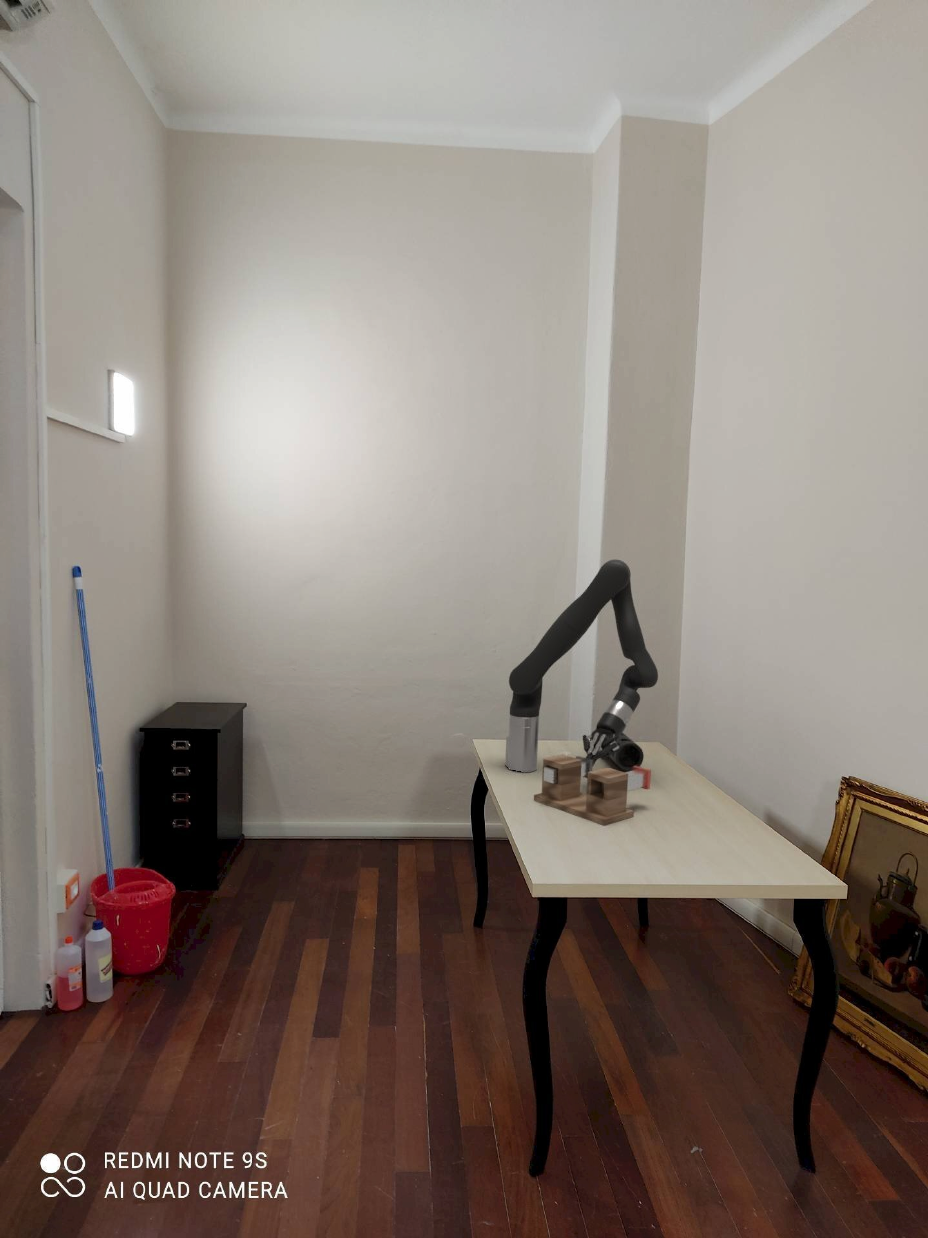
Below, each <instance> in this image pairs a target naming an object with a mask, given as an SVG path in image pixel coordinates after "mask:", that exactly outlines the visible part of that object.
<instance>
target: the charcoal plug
mask: <svg viewBox="0 0 928 1238" xmlns="http://www.w3.org/2000/svg"><path fill="white" fill-rule="evenodd" d="M575 758H577V759H580V760H582V764H581V778H586V779H587V777H588V772H590V771H593V767H592V764H593V760H591V759H587V758H586V757H583V756H580V755H577V756H575ZM544 781H547V782H550V783H557V782H558V768H555V767H551V766H549V767H544Z"/></svg>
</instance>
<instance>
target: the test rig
mask: <svg viewBox="0 0 928 1238" xmlns="http://www.w3.org/2000/svg"><path fill="white" fill-rule="evenodd" d="M581 764H582V760H580V759H577V758H576V757H573V756H569V755H565V754H558V755H554V756H549V757H544V758H543V759H542V776H541V777H542V779H541V792H540V793H537V794H533V801H536V802H537V803H540V804H544V805H546V806H548V807H552V808H555V809H558V810H560V811H563V812H566V813H568V814H572V815H574V816H577V817H579V818H583V819H586V820H588V821H591V822H594V823H597V824H600V825H602V826H607V825H610V824H613V823H617V822H619V821H624V820H627V819H629V818H632V817H634V813H635V812H634V810H632V809H629V808H627V799H628V791H627V786H628V773H625V771H621V770H618V769H614V768H610V767H604V768H598V769H595V770H592V771H590V772H588V777H587V778H586V779H587V781H586V783H587V784H586V794H583V793H581V781H582V780H581V779H582V777H581ZM549 766H551V767H555V768H558V782H557V783H550V782H547V781H544V767H549ZM602 782H603V783H604V792H602Z"/></svg>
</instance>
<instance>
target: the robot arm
mask: <svg viewBox="0 0 928 1238" xmlns="http://www.w3.org/2000/svg"><path fill="white" fill-rule="evenodd" d="M631 585H632V584H631V570H630V567H629V565H628V563H625V562H624V561H623V560H620V559H610V560H608V561H606V562H605V563H603V564H602V565H601V566H600V568H599V570H598V572H597V573H596V575H595V576H594V577H593V579H592V581H591V582H590V584H589V585H588V586H587V587H586V589H585V590H584V591H583V593H581V594H580V595H579V596H578V597H577V598H576V599H575V600H573V602H571V603H570V604H569V606H567V607H566V608H565V610H563V612H562V613H561V614H560V615H559V616H558V617H557V618H556V619H555V621H554V622H553V623H552V625H551V626H550V627H549V628H548V629H547V631H546V632H545V633H544V635H543V636H542V638H541V639H540V640H539V642H538V643H537V645H535V646H536V647H535V648H533V650H532V651H531V652H530V653H529V654H528V655H527V657H525V658H524V659H523V660H522V661H521V662H520V663H519V664H518V665H517V666H515V667H514V668H513V669H512V671H511V672H510V674H509V677H508V684H509V685H508V686H509V688H510V690H511V691H512V699H511V702H510V703H511V704H510V706H509V718H508V719H509V722H508V724H509V725H508V736H506V738H505V739H506V740H505V760H504V761H505V762H504V765H506V766H507V767H508V768H510V769H511V770H510V769H509V770H510V771H512V770H516V771H515V772H517V771H521V772H520V773H531V772H535V771H537V769H538V750H539V731H540V730H539V727H540V724H539V723H540V709H541V705H542V694H543V680H544V679H543V678H544V676H545V675H546V673H547V672H548V671H549V670H550V668H551V667H552V666H553V665H555V663H556V662H558V661H559V660H560V659H561V658H562V657H563V656H565V655H566V653H568V652H569V651H570V650H571V649H572V648H573V647H575V645H576V644H577V643H578V642H579V641H580V640H581V638H582V637H584V635H585V634H586V632H587V631H588V630H589V629H590V627H591V626H592V624H593V623H594V622H595V620H596V618H597V617H598V615H599V614H600V612H602V610H603V608H604V607H605V606H606V605H607V604H608V603H609V602H610V601H611V604H612V607H613V612H614V618H615V625H616V631H617V636H618V640H619V644H620V648H621V651H622V654H623V657H624V658H625V659H627V660H631V661H632V662H633V664H632V665H630V666H628V667H627V668H626V669H625V670H624V672H623V674H622V676H621V680H620V683H619V687H618V689H617V692H616V694H615V695H614V697H613V699H612V700H611V702H610V703H609V704H608V705H607V707H606V709H605V710H604V712H603V713H602V714H601V717H600V718H599V720H598V722H597V723H596V728H595V729H594V730H593V731H592V732H591V734H588V735H587V734H582V744H583V750H584V752H585V753H586V754H587V755H585V758H587V759H591V760H593V764H592V768H593V767H594V765H595V764H596V762H597V761H598V760H600V759H601V760H605V759H607V758H609V756H610V755H612V754H614V753H615V752H617V751H619V750H620V748H619V746H618V745H617V743H616V742H617V739H618V738H620V736H621V734H622V732H623V733H624V731H625V729H626V727H627V726H628V724H629V722H630V720H631V719H632V716H633V713H634V712H635V710H636V709H637V708H638V706H639V704H640V701H641V696H640V694H639V692H638V689H647V688H648V689H649V688H653V687H655V685H657V682H658V680H659V671H658V668H657V666H656V664H655V662H654V660H653V658H652V656H651V655H650V653H649V651H648V649H647V647H646V643H645V639H644V636H643V632H642V629H641V625H640V622H639V618H638V615H637V612H636V608H635V604H634V600H633V593H632V586H631ZM606 752H607V753H606ZM506 766H505V767H506ZM507 767H506V768H507ZM508 768H507V769H508Z"/></svg>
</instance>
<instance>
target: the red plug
mask: <svg viewBox="0 0 928 1238" xmlns="http://www.w3.org/2000/svg"><path fill="white" fill-rule="evenodd" d="M624 772H625V771H624ZM625 773H628V786H627V792H628V791H633V790H634V789H635V790H636V789H639V788H641V789H644V790H650V789H651V777H652V776H651V775H652V770H651V769H648V768H644V767H641V766H640V767H638V766H633V771H629V772H625ZM602 792H604V783H603V782H602Z"/></svg>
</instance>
